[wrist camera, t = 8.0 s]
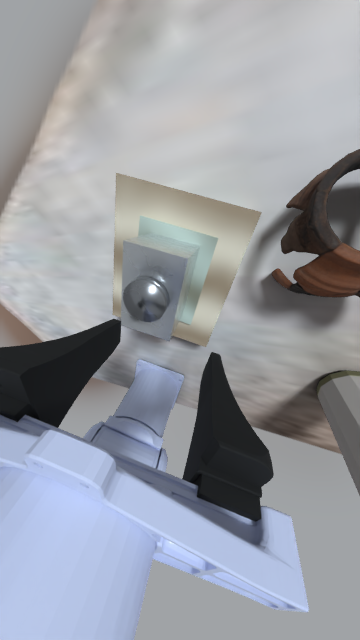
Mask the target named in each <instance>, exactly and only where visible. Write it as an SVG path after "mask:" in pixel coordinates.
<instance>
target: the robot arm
mask: <svg viewBox="0 0 360 640" xmlns="http://www.w3.org/2000/svg"><path fill="white" fill-rule="evenodd" d="M120 335H121V321H119V320H116V319H112V320H110V321H107V322H105V323H102V324H100V325H98V326H95V327H93V328H90V329H88V330H85V331H82V332H79V333H77V334H74V335H70V336H67V337H63V338H60V339H56V340H51V341H46V342H42V343H36V344H30V345H23V346H13V347H2V348H0V640H134V637H135V633H136V628H137V624H138V620H139V616H140V611H141V607H142V602H143V598H144V594H145V589H146V585H147V581H148V577H149V573H150V568H151V564H152V560H153V559H154V560H157V561H159V562H161V563H164V564H166V565H169V566H172V567H174V568H176V569H179V570H181V571H184V572H187V573H189V574H192V575H194V576H196V577H199V578H202V579H204V580H207V581H209V582H212V583H214V584H217V585H219V586H221V587H224V588H226V589H229V590H231V591H234V592H236V593H238V594H241V595H243V596H245V597H248V598H250V599H253V600H255V601H257V602H259V603H261V604H263V605H266V606H268V607H270V608H272V609H275V610H287V611H299V612H308V611H309V607H308V601H307V597H306V591H305V586H304V580H303V575H302V570H301V565H300V559H299V554H298V549H297V544H296V539H295V533H294V528H293V523H292V518H291V517H290V516H289V515H287V514H285V513H282V512H280V511H277V510H275V509H272V508H270V507H267V506H260V498H261V497H262V490H261V487H262V486H263V485H264V484H266V483H267V482H269V481H270V480H271V479H272V478H273V468H272V462H271V458H270V454H269V450H268V449H267V448H266V446H265V445H264V444H263V442H262V441H261V440H260V439H259V437H258V436H257V435H256V433H255V432H254V430H253V429H252V427H251V426H250V424H249V423H248V421H247V420H246V418H245V416H244V415H243V413H242V411H241V410H240V408H239V406H238V404H237V402H236V400H235V398H234V396H233V393H232V391H231V389H230V386H229V384H228V381H227V378H226V375H225V372H224V368H223V365H222V361H221V356H220V355H219V354H216V353H213V352H211V355H210V357H209V359H208V362H207V364H206V366H205V369H204V371H203V375H202V380H201V385H200V393H199V402H198V411H197V417H196V422H195V427H194V432H193V436H192V441H191V445H190V449H189V454H188V458H187V463H186V466H185V471H184V475H183V479H180V478H178V477H175V476H173V475H170V474H168V473H165V471H166V466H167V461H168V457H167V454H166V450H165V449H163V448H161V446H162V442H163V439H162V436H163V433H164V430H165V426H166V423H167V420H168V417H169V414H170V411H171V409H173V407H174V404H175V401H176V399H177V396H178V393H179V391H180V388H181V385H182V383H183V380H184V376H183V375H182V374H179V373H176V372H174V371H171V370H168V369H165V368H163V367H160V366H157V365H154V364H152V363H149V362H146V361H143V360H141V359H139V360H138V361H137V364H136V372H135V379H134V381H133V383H132V385H131V387H130V388H129V390H128V392H127V393H126V395H125V397H124V399H123V400H122V402H121V404H120V405H119V407H118V409H117V410H116V412H115V414H114V415H113V416H109V418H108V420H107V421H106V423H104V422H99V423H98V424H95V425H94V426H93V427H91V429H90V430H89V431H88V432H87V433H86V435H85V436H84V438H80V437H78V436H76V435H73V434H71V433H68V432H66V431H64V430H61V429H59V428H58V427H59V425H60V424H61V422H62V420H63V419H64V417H65V415H66V414H67V412H68V410H69V409H70V407H71V406H72V404H73V403H74V401H75V400H76V398H77V397H78V395H79V394H80V392H81V391H82V389H83V388H84V386H85V385H86V384H87V382H88V381H89V379H90V378H91V377H92V376H93V374H94V373H95V372H96V371H97V370H98V369H99V368H100V366H101V365H102V364H103V363H104V362H105V361H106V360H107V359H108V357H109V356H110V355H111V354H112V353H113V352H114V350H115V349H116V347H117V346H118V344H119V343H120Z"/></svg>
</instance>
